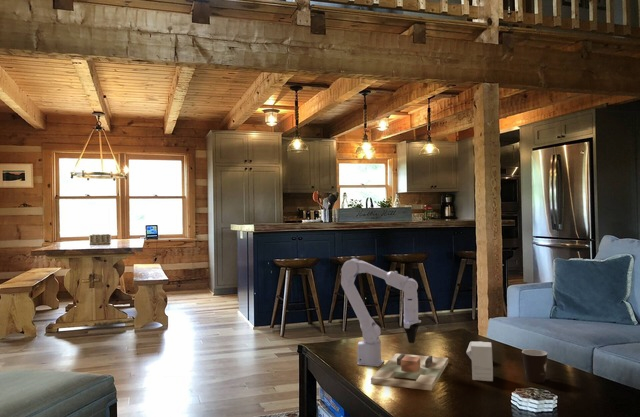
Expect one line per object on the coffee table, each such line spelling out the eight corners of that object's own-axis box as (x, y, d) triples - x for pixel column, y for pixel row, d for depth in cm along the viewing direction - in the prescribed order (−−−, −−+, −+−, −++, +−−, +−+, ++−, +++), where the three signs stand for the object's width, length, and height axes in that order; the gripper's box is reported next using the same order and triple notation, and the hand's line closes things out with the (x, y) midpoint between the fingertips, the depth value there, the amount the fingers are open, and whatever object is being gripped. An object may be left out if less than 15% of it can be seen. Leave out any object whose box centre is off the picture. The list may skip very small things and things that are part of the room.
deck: (371, 383, 183) (370, 371, 183) (395, 358, 215) (395, 347, 215) (431, 390, 174) (431, 377, 174) (448, 362, 206) (447, 351, 206)
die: (485, 366, 202) (494, 345, 205) (466, 355, 204) (475, 334, 207) (479, 368, 210) (488, 347, 213) (460, 357, 211) (469, 337, 214)
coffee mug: (537, 385, 177) (536, 356, 177) (517, 378, 185) (516, 351, 185) (559, 379, 182) (558, 352, 182) (539, 373, 190) (538, 347, 190)
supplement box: (493, 375, 189) (492, 342, 189) (493, 381, 182) (492, 346, 182) (472, 374, 191) (471, 340, 191) (471, 380, 184) (470, 345, 184)
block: (401, 370, 191) (401, 360, 191) (405, 366, 196) (404, 355, 196) (416, 372, 188) (416, 361, 188) (420, 367, 194) (420, 357, 194)
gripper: (416, 312, 195) (417, 347, 195) (424, 306, 209) (425, 339, 208) (398, 311, 198) (399, 346, 198) (408, 305, 211) (408, 337, 211)
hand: (411, 342), depth 203 cm, fingers closed
